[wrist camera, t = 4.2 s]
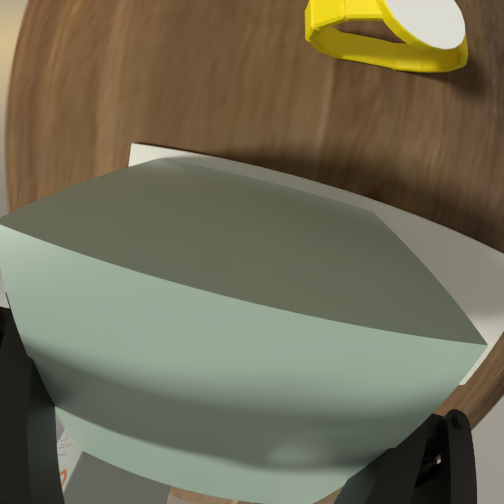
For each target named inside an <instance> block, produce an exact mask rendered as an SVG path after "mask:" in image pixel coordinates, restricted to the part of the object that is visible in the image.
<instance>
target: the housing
mask: <svg viewBox="0 0 504 504" xmlns="http://www.w3.org/2000/svg"><path fill="white" fill-rule="evenodd" d="M0 267H1V272H2V276H3V281H4V285H5V289H6V293H7V296H8V300H9V304H10V307H11V310H12V314H13V317H14V320H15V323H16V326H17V329H18V332H19V334H20V337H21V340H22V343H23V345H24V348H25V350H26V353H27V355H28V356H29V357H30V358H32V359H33V361H34V363H35V365H36V368H37V370H38V372H39V374H40V377H41V379H42V381H43V383H44V385H45V387H46V389H47V391H48V393H49V395H50V397H51V399H52V401H53V403H54V405H55V413H56V414H57V416H58V418H59V420H60V421H61V423H62V425H63V426H64V428H65V430H66V431H67V433H68V434H69V436H70V437H71V439H72V440H73V442H74V443H75V445H76V446H77V448H79V449H80V450H82V451H84V452H86V453H88V454H90V455H92V456H95V457H97V458H99V459H101V460H103V461H105V462H108V463H110V464H112V465H114V466H117V467H119V468H122V469H124V470H127V471H129V472H132V473H134V474H137V475H140V476H143V477H145V478H148V479H151V480H154V481H157V482H160V483H164V484H167V485H170V486H174V487H177V488H181V489H185V490H189V491H193V492H197V493H201V494H206V495H210V496H215V497H221V498H226V499H232V500H239V501H246V502H254V503H263V504H313V503H315V502H317V501H318V500H320V499H322V498H324V497H325V496H327V495H329V494H331V493H332V492H334V491H335V490H337V489H339V488H340V487H342V486H343V485H345V483H346V481H347V479H349V478H350V477H352V476H353V475H355V474H356V473H358V472H359V471H360V470H362V469H363V468H364V467H366V466H367V465H368V464H370V463H371V462H372V461H374V460H375V459H376V458H377V457H379V456H380V455H381V454H382V453H384V452H385V451H386V450H387V449H389V448H395V447H396V446H398V445H399V444H400V443H401V442H402V441H403V440H405V439H406V438H407V437H408V436H409V435H410V434H411V433H412V432H413V431H415V430H416V429H417V428H418V427H419V426H420V425H421V424H422V423H423V422H424V421H425V420H426V419H427V418H428V417H429V416H430V415H431V414H432V413H433V412H434V411H435V410H436V409H437V408H438V407H439V406H440V405H441V404H442V403H443V401H444V400H445V399H446V398H447V397H448V396H449V395H450V394H451V393H452V391H453V390H454V389H455V388H456V387H457V386H458V384H459V383H460V382H461V381H462V380H463V378H464V377H465V376H466V375H467V373H468V372H469V371H470V370H471V368H472V367H473V366H474V364H475V363H476V362H477V360H478V359H479V358H480V356H481V355H482V354H483V352H484V351H485V349H486V348H487V347H488V344H487V343H486V341H485V340H484V338H483V337H482V336H481V334H480V333H479V331H478V330H477V329H476V327H475V326H474V325H473V323H472V322H471V321H470V319H469V318H468V317H467V315H466V314H465V313H464V311H463V310H462V309H461V308H460V306H459V305H458V304H457V303H456V301H455V300H454V299H453V298H452V296H451V295H450V294H449V293H448V292H447V290H446V289H445V288H444V287H443V286H442V284H441V283H440V282H439V281H438V280H437V279H436V277H435V276H434V275H433V274H432V273H431V272H430V271H429V269H428V268H427V267H426V266H425V265H424V264H423V263H422V262H421V260H420V259H419V258H418V257H417V256H416V255H415V254H414V253H413V252H412V251H411V250H410V249H409V248H408V247H407V245H406V244H405V243H404V242H403V241H402V240H401V239H400V238H399V237H398V236H397V235H396V234H395V233H394V232H393V231H392V230H391V229H390V228H389V227H388V226H387V225H386V224H385V223H384V222H383V221H382V220H381V219H380V218H379V217H378V216H377V215H376V214H375V213H373V212H372V211H369V210H366V209H363V208H360V207H356V206H353V205H350V204H347V203H344V202H340V201H337V200H334V199H330V198H327V197H323V196H320V195H316V194H313V193H309V192H306V191H302V190H298V189H295V188H291V187H287V186H283V185H280V184H276V183H272V182H268V181H264V180H260V179H256V178H251V177H247V176H243V175H239V174H234V173H230V172H225V171H221V170H216V169H211V168H206V167H201V166H196V165H191V164H186V163H181V162H176V161H170V160H164V159H159V158H158V159H154V160H150V161H147V162H143V163H140V164H137V165H133V166H130V167H127V168H124V169H120V170H117V171H114V172H111V173H108V174H105V175H102V176H99V177H96V178H93V179H91V180H88V181H85V182H82V183H80V184H77V185H74V186H72V187H69V188H67V189H64V190H61V191H59V192H56V193H54V194H52V195H49V196H47V197H44V198H42V199H40V200H37V201H35V202H33V203H31V204H28V205H26V206H24V207H22V208H20V209H18V210H16V211H13V212H11V213H9V214H7V215H5V216H3V217H1V218H0Z"/></svg>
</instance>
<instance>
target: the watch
mask: <svg viewBox="0 0 504 504" xmlns="http://www.w3.org/2000/svg"><path fill="white" fill-rule="evenodd" d="M348 20H349V21H384V22H385V24H386V25H387V26H388V27H389V28H390V29H391V30H392V31H393V32H394V34H395V35H396V36H398V37H399V38H400V39H402V40H403V41H404V42H406V43H407V44H406V43H392V42H388V41H384V40H380V39H375V38H371V37H366V36H361V35H355V34H349V33H343V32H340V31H338V30H336V29H334V28H332V27H330V26H333V25H336V24H340V23H343V22H346V21H348ZM305 38H306V40H307V41H308V42H309V43H310V44H311V45H312V46H313V47H314V48H315V49H316V50H317V51H319V52H322V53H324V54H327V55H329V56H332V57H335V58H337V59H344V60H351V61H357V62H362V63H368V64H373V65H378V66H383V67H387V68H391V69H393V70H395V71H396V70H398V71H411V72H422V73H423V72H425V73H431V72H447V71H448V72H450V71H453V70H456V69H458V68H461V67H464V66H465V65H466V63H467V58H468V47H467V39H466V33H465V23H464V20H463V16H462V13H461V11H460V9H459V8H458V6H457V4H456V3H455V1H454V0H309V3H308V5H307V8H306V10H305Z"/></svg>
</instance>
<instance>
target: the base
mask: <svg viewBox="0 0 504 504" xmlns="http://www.w3.org/2000/svg"><path fill="white" fill-rule="evenodd" d="M158 158H159V159H164V160H170V161H176V162H181V163H186V164H191V165H196V166H201V167H206V168H211V169H216V170H221V171H225V172H230V173H234V174H239V175H243V176H247V177H251V178H256V179H260V180H264V181H268V182H272V183H276V184H280V185H283V186H287V187H291V188H295V189H298V190H302V191H306V192H309V193H313V194H316V195H320V196H323V197H327V198H330V199H334V200H337V201H340V202H344V203H347V204H350V205H353V206H356V207H360V208H363V209H366V210H369V211H372V212H373V213H375V214H376V215H377V216H378V217H379V218H380V219H381V220H382V221H383V222H384V223H385V224H386V225H387V226H388V227H389V228H390V229H391V230H392V231H393V232H394V233H395V234H396V235H397V236H398V237H399V238H400V239H401V240H402V241H403V242H404V243H405V244H406V245H407V247H408V248H409V249H410V250H411V251H412V252H413V253H414V254H415V255H416V256H417V257H418V258H419V259H420V260H421V262H422V263H423V264H424V265H425V266H426V267H427V268H428V269H429V271H430V272H431V273H432V274H433V275H434V276H435V277H436V279H437V280H438V281H439V282H440V283H441V284H442V286H443V287H444V288H445V289H446V290H447V292H448V293H449V294H450V295H451V296H452V298H453V299H454V300H455V301H456V303H457V304H458V305H459V306H460V308H461V309H462V310H463V311H464V313H465V314H466V315H467V317H468V318H469V319H470V321H471V322H472V323H473V325H474V326H475V327H476V329H477V330H478V331H479V333H480V334H481V336H482V337H483V338H484V340H485V341H486V343H487V344H488V347H487V348H486V349H485V351H484V352H483V354H482V355H481V356H480V358H479V359H478V360H477V362H476V363H475V364H474V366H473V367H472V368H471V370H470V371H469V372H468V373H467V375H466V376H465V377H464V378H463V380H462V381H461V382H460V383H459V384H458V385H464V384H465V383H466V382H467V381H468V379H469V378H470V377H471V376H472V375H473V373H474V372H475V371H476V369H477V368H478V367H479V366H480V364H481V363H482V362H483V360H484V359H485V358H486V356H487V355H488V353H489V352H490V351H491V349H492V348H493V346H494V345H495V343H496V342H497V340H498V339H499V337H500V336H501V334H502V333H503V331H504V253H502V252H500V251H498V250H496V249H494V248H492V247H489V246H487V245H485V244H483V243H481V242H479V241H477V240H474V239H472V238H470V237H468V236H466V235H463V234H461V233H459V232H456V231H454V230H452V229H449V228H447V227H445V226H442V225H440V224H437V223H435V222H433V221H430V220H428V219H425V218H422V217H420V216H417V215H415V214H412V213H409V212H407V211H404V210H401V209H399V208H396V207H393V206H390V205H388V204H385V203H382V202H379V201H376V200H373V199H370V198H367V197H364V196H361V195H358V194H355V193H352V192H349V191H346V190H343V189H339V188H336V187H333V186H329V185H326V184H323V183H319V182H316V181H312V180H309V179H305V178H302V177H298V176H294V175H291V174H287V173H283V172H279V171H275V170H271V169H267V168H263V167H259V166H255V165H251V164H246V163H242V162H237V161H233V160H228V159H224V158H219V157H214V156H209V155H204V154H199V153H193V152H188V151H182V150H176V149H171V148H164V147H158V146H152V145H145V144H138V143H132V146H131V153H130V160H129V167H130V166H133V165H137V164H140V163H143V162H147V161H150V160H154V159H158Z"/></svg>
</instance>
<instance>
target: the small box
mask: <svg viewBox="0 0 504 504" xmlns="http://www.w3.org/2000/svg"><path fill="white" fill-rule="evenodd" d="M57 454H58V463H59V471H60V479H61V485H62V491H63V497H64V502H65V504H166V502H167V498H168V494H169V491H170V487H171V486H170V485H167V484H164V483H160V482H157V481H154V480H151V479H148V478H145V477H143V476H140V475H137V474H134V473H132V472H129V471H127V470H124V469H122V468H119V467H117V466H114V465H112V464H110V463H108V462H105V461H103V460H101V459H99V458H97V457H95V456H92V455H90V454H88V453H86V452H84V451H82V450H80V449H79V448H77V446H76V445H75V443H74V442H73V440H72V439H71V437H70V436H69V434H68V433H67V431H66V430H65V431H64V433H63V435H62V436H61V438H60V440H59V441H58V443H57Z"/></svg>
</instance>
